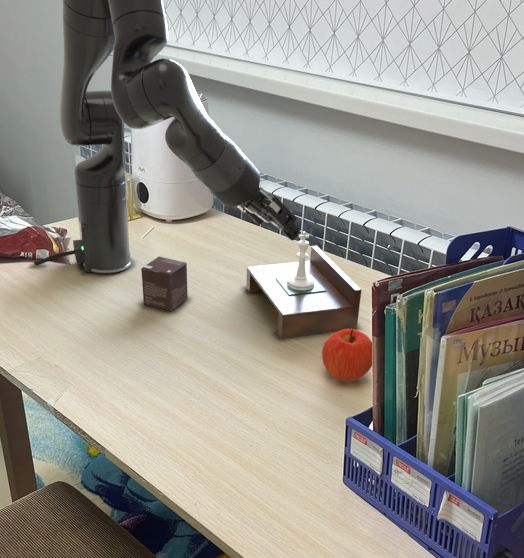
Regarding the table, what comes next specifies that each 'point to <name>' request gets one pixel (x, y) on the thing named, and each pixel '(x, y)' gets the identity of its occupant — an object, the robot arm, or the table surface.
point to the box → (164, 283)
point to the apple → (347, 354)
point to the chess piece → (301, 268)
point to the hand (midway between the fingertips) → (278, 227)
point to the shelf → (308, 296)
